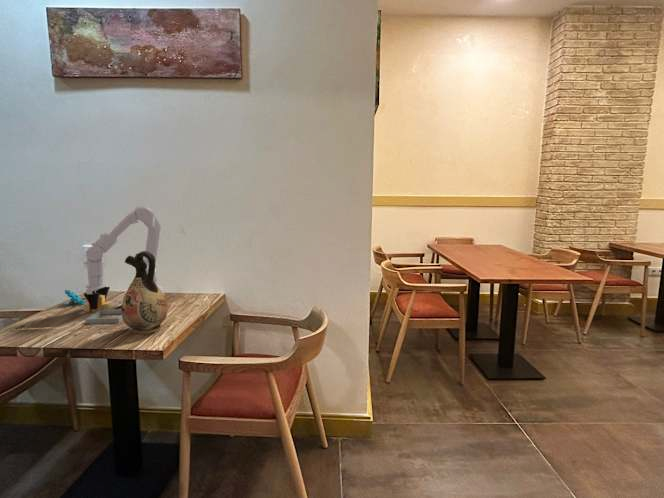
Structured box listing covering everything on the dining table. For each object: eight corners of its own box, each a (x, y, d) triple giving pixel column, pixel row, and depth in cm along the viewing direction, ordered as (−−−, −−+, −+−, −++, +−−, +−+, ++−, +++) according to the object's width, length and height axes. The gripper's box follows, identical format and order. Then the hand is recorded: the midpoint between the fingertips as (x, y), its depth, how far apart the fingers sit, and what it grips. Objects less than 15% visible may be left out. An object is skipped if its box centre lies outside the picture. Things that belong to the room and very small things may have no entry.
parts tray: (130, 315, 166) (130, 309, 166) (119, 324, 154) (118, 318, 154) (100, 315, 165) (99, 310, 164) (85, 325, 153) (85, 319, 153)
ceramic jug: (112, 334, 144) (106, 251, 140) (146, 321, 158) (142, 246, 154) (149, 341, 138) (143, 254, 134) (181, 327, 152) (177, 248, 148)
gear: (84, 304, 175) (64, 289, 173) (74, 315, 174) (53, 300, 171) (89, 301, 186) (70, 287, 183) (79, 311, 184) (59, 297, 181)
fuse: (105, 308, 172) (104, 294, 171) (102, 310, 169) (101, 296, 168) (94, 309, 171) (93, 294, 170) (91, 311, 168) (90, 296, 168)
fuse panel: (118, 307, 176) (117, 299, 175) (108, 314, 166) (108, 306, 166) (89, 308, 175) (88, 300, 174) (77, 315, 165) (77, 306, 164)
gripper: (93, 271, 175) (96, 302, 177) (76, 279, 160) (79, 312, 162) (110, 271, 176) (113, 301, 177) (95, 278, 161) (98, 311, 163)
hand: (98, 306), depth 170 cm, fingers open, 7 cm apart
